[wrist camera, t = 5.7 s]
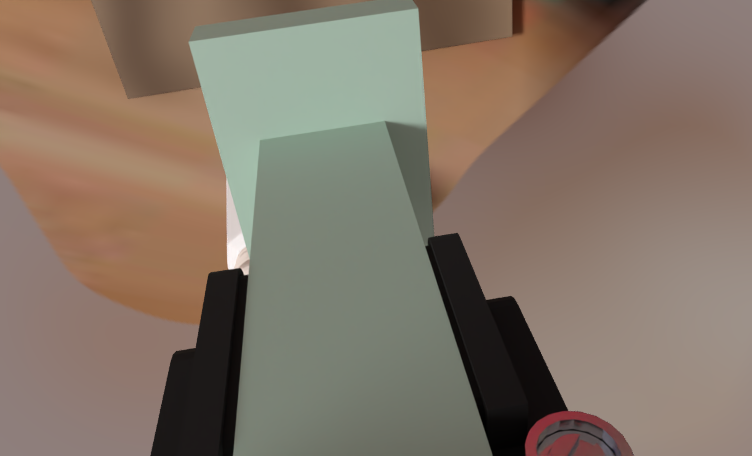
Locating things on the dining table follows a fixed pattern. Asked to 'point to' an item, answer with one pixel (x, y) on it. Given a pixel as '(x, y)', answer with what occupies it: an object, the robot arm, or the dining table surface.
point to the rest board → (230, 3)
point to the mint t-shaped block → (335, 235)
